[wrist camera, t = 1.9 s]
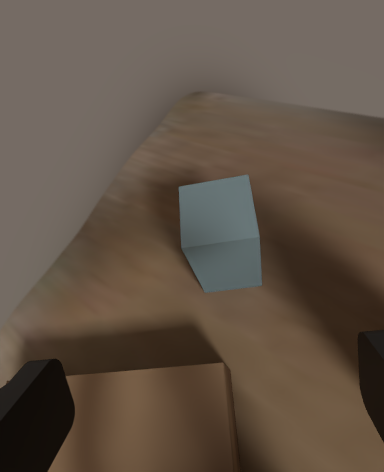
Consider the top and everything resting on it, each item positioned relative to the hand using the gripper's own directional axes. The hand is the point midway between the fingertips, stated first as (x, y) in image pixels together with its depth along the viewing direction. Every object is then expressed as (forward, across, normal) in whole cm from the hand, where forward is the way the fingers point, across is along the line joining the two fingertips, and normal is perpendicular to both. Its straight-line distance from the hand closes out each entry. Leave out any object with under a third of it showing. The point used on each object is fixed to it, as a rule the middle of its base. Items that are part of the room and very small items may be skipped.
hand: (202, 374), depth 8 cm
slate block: (+20, 0, +5) cm, 21 cm away
